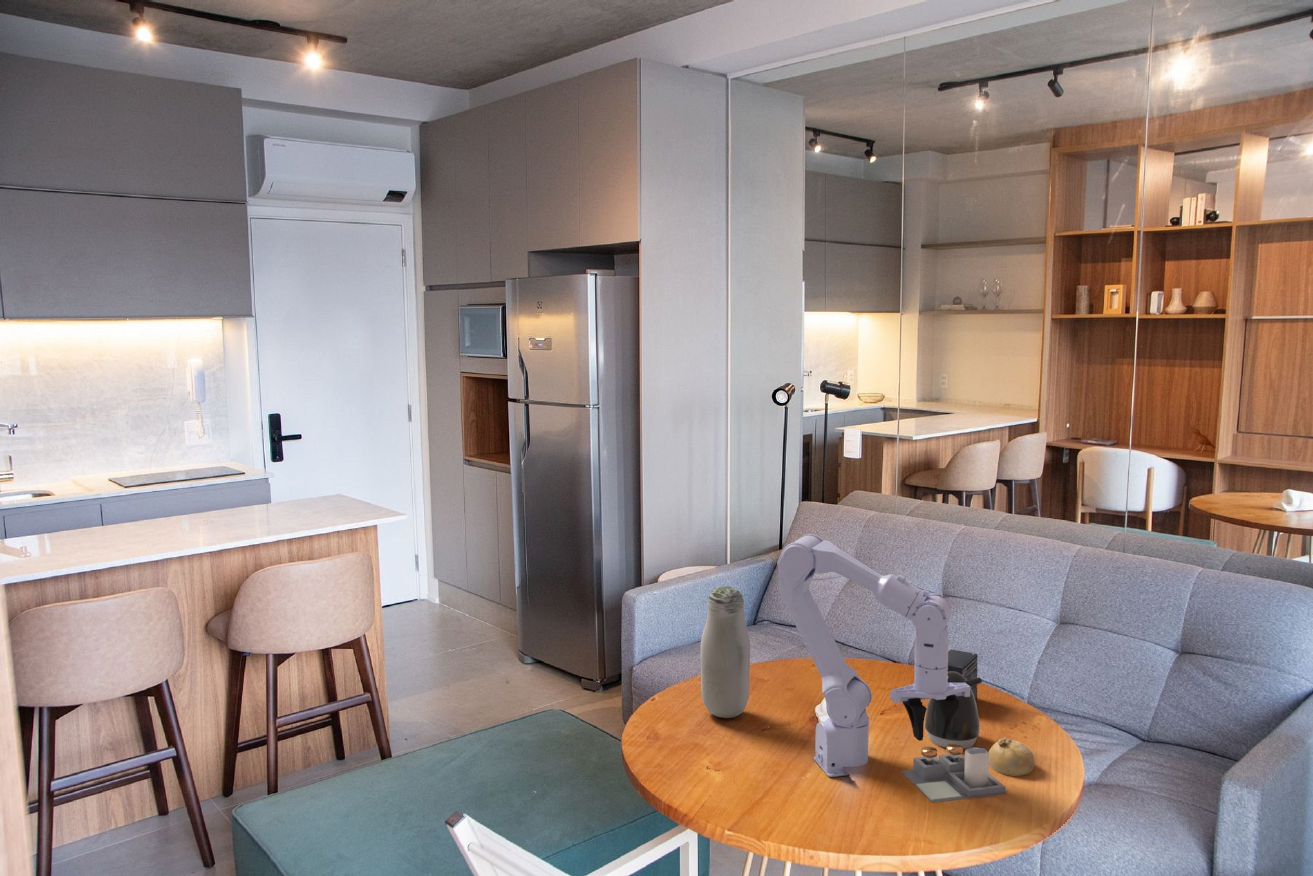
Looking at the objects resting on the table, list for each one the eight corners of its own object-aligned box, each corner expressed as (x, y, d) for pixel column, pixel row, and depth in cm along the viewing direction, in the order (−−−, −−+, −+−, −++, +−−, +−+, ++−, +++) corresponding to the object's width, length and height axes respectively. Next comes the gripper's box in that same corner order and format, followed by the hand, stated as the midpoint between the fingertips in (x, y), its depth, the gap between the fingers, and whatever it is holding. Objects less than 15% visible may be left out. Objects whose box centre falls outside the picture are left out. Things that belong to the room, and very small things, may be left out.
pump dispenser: (983, 760, 178) (985, 683, 176) (926, 756, 180) (928, 679, 178) (976, 738, 188) (978, 664, 186) (922, 734, 190) (924, 661, 188)
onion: (1001, 761, 178) (1002, 725, 177) (1042, 775, 172) (1043, 738, 171) (979, 775, 172) (980, 737, 171) (1021, 790, 166) (1022, 751, 166)
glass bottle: (692, 717, 200) (691, 588, 197) (721, 702, 207) (721, 578, 204) (730, 729, 193) (729, 596, 190) (758, 713, 201) (758, 586, 198)
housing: (932, 811, 159) (932, 789, 159) (899, 778, 171) (900, 758, 170) (1006, 802, 162) (1007, 781, 161) (969, 771, 174) (970, 751, 173)
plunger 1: (925, 769, 168) (925, 754, 167) (918, 762, 170) (918, 747, 170) (939, 767, 168) (940, 752, 168) (932, 760, 171) (932, 745, 171)
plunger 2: (951, 766, 169) (951, 751, 168) (943, 759, 171) (943, 744, 171) (965, 764, 169) (965, 749, 169) (957, 757, 172) (957, 743, 172)
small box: (949, 693, 212) (950, 648, 211) (978, 699, 208) (979, 653, 207) (932, 708, 203) (933, 661, 202) (962, 714, 199) (964, 667, 198)
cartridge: (971, 791, 163) (972, 755, 162) (959, 781, 166) (960, 746, 166) (992, 789, 163) (993, 753, 163) (980, 778, 167) (981, 743, 167)
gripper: (903, 675, 162) (902, 750, 163) (980, 668, 165) (978, 742, 166) (885, 661, 169) (884, 734, 170) (959, 655, 172) (957, 726, 173)
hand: (929, 737), depth 169 cm, fingers open, 4 cm apart
